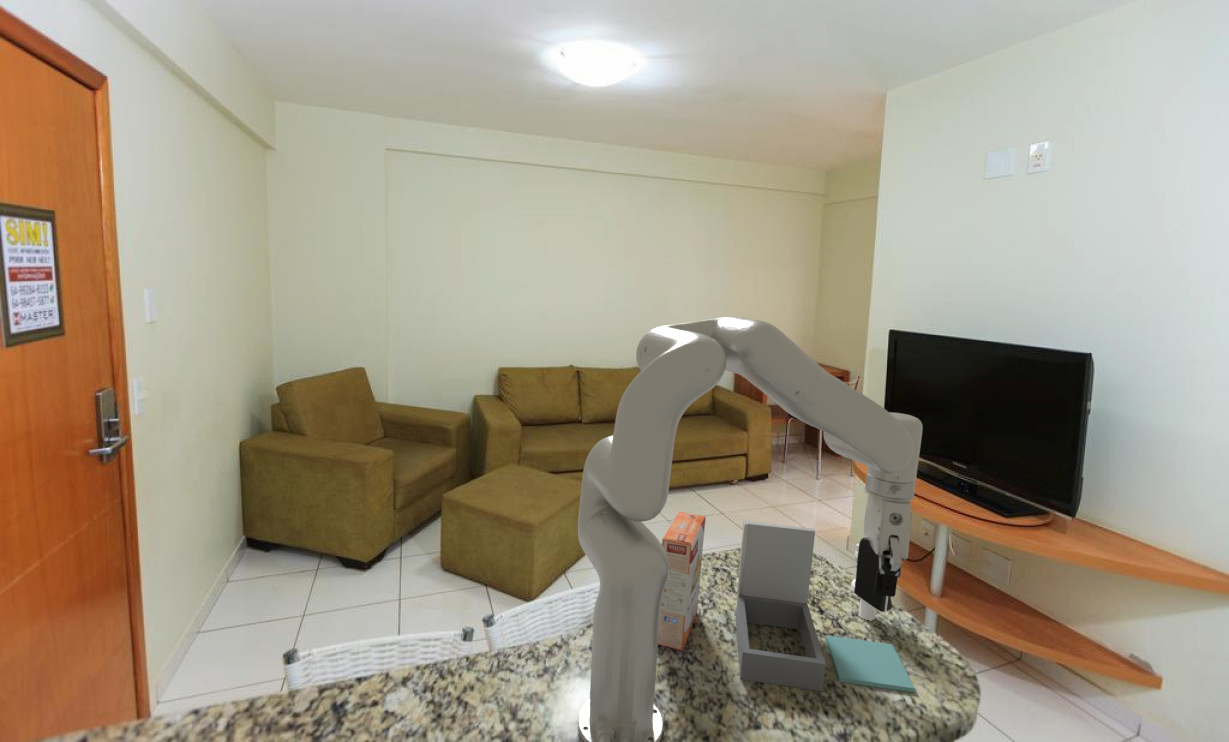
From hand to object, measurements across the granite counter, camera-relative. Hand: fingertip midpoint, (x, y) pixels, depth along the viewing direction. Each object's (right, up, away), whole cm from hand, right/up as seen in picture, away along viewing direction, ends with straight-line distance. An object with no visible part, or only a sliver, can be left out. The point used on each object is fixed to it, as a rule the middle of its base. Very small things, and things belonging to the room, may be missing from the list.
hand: (877, 582), depth 100 cm
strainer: (+6, -14, +18) cm, 23 cm away
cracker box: (-34, -13, +11) cm, 38 cm away
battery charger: (0, -4, +1) cm, 4 cm away
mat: (-1, -16, +2) cm, 16 cm away
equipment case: (-17, -14, +5) cm, 23 cm away
